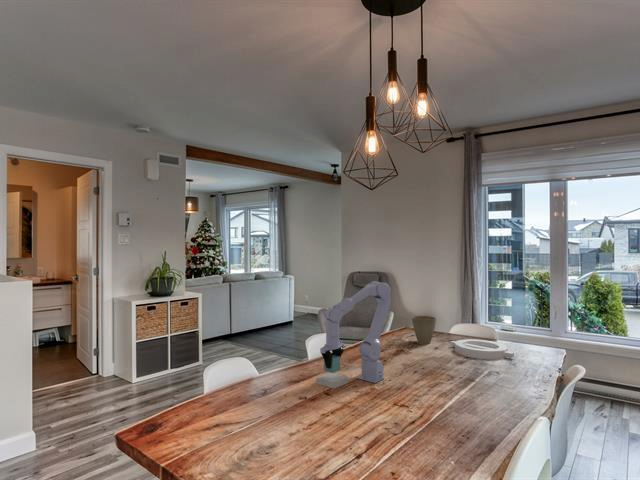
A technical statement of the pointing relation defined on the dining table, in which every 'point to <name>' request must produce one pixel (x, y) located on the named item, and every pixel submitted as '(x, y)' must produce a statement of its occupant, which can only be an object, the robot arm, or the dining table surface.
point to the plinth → (332, 380)
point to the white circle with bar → (481, 349)
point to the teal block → (333, 365)
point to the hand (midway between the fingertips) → (332, 366)
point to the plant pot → (424, 328)
